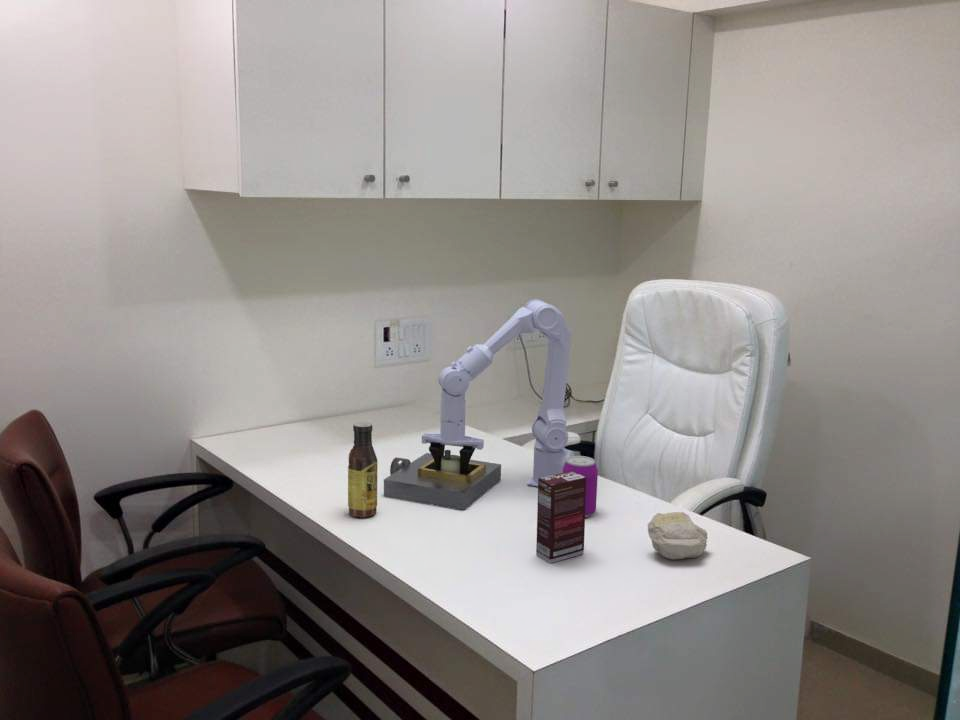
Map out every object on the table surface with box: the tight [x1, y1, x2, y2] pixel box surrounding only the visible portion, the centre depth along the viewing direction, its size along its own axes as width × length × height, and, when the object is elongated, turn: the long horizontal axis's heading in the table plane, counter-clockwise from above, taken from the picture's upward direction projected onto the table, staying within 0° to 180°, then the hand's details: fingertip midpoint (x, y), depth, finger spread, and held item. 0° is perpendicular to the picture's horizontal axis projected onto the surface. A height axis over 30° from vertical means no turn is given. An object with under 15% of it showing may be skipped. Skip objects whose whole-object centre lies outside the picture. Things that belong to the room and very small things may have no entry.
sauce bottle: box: [347, 421, 378, 519], centre depth 185 cm, size 6×6×20 cm
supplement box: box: [535, 471, 586, 564], centre depth 167 cm, size 9×5×16 cm, turn 123°
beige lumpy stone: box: [647, 511, 708, 561], centre depth 169 cm, size 12×8×10 cm
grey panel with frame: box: [383, 452, 502, 511], centre depth 204 cm, size 23×22×6 cm
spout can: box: [441, 449, 461, 474], centre depth 202 cm, size 5×5×8 cm
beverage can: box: [563, 455, 599, 518], centre depth 189 cm, size 8×8×12 cm
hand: (452, 475), depth 202 cm, fingers closed on spout can, 5 cm apart
